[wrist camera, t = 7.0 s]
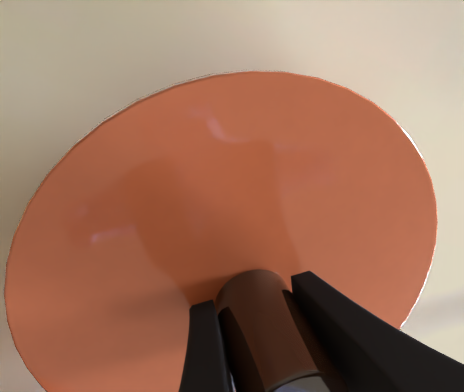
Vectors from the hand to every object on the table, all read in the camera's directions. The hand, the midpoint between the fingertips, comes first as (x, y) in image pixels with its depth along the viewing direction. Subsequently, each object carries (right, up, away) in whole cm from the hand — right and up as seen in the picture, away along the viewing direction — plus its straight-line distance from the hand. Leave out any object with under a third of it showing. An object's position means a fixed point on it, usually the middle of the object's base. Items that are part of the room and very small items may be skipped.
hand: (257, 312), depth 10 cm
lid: (0, 0, +1) cm, 1 cm away
